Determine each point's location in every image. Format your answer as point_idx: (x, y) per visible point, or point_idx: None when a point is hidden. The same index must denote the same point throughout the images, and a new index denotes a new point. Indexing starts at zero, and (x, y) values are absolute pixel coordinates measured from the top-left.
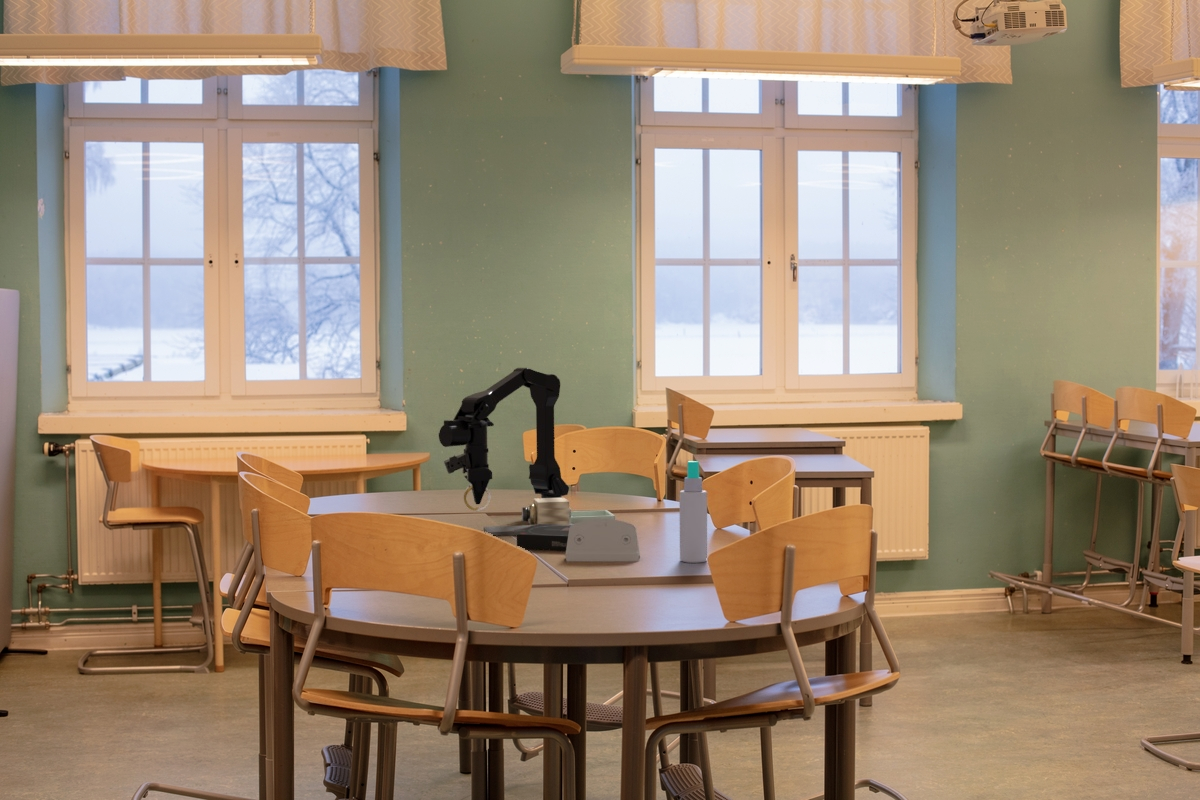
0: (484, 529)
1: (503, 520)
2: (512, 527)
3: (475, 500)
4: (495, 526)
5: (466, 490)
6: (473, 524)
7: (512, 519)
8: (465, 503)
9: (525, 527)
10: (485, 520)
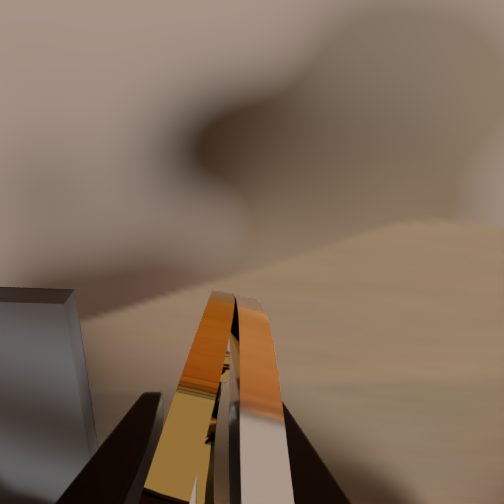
0: (6, 296)
1: (424, 416)
2: (18, 436)
3: (117, 426)
4: (71, 367)
5: (141, 494)
6: (366, 266)
7: (431, 449)
8: (211, 294)
9: (13, 482)
10: (478, 344)
